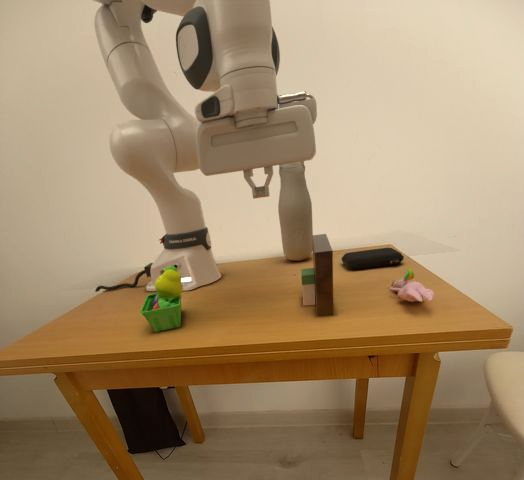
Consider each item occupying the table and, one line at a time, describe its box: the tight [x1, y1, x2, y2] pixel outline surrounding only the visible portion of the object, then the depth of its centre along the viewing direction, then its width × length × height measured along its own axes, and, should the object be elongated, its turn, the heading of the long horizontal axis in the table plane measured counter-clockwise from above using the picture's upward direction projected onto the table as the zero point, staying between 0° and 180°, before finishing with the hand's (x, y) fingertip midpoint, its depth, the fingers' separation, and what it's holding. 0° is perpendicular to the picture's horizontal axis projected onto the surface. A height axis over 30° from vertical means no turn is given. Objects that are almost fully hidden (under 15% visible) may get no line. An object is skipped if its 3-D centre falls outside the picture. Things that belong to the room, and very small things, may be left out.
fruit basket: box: [140, 266, 183, 333], centre depth 61 cm, size 11×9×11 cm
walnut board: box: [312, 233, 334, 317], centre depth 60 cm, size 3×16×12 cm, turn 174°
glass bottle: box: [277, 161, 314, 262], centre depth 87 cm, size 10×10×28 cm
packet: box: [300, 267, 316, 306], centre depth 62 cm, size 6×5×7 cm
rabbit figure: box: [389, 268, 435, 303], centre depth 56 cm, size 6×6×15 cm
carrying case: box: [340, 247, 405, 271], centre depth 79 cm, size 11×3×15 cm
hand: (261, 197), depth 54 cm, fingers closed
